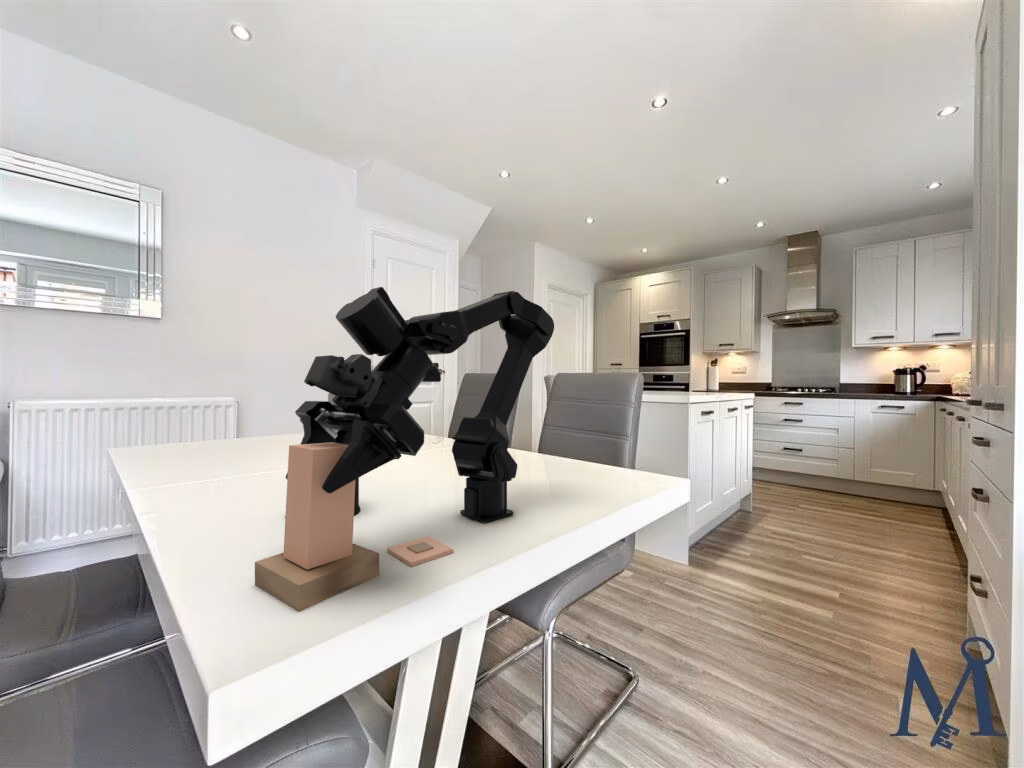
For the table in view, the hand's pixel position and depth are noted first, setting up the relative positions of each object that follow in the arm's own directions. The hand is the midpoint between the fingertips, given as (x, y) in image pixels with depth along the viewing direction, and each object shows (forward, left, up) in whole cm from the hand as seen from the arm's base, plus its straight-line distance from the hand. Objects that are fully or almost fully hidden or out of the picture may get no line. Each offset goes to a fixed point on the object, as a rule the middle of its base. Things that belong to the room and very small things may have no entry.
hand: (306, 485), depth 44 cm
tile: (-13, +1, -11) cm, 17 cm away
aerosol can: (-11, -23, -11) cm, 28 cm away
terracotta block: (-1, 0, -8) cm, 8 cm away
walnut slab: (-1, 0, -11) cm, 11 cm away
